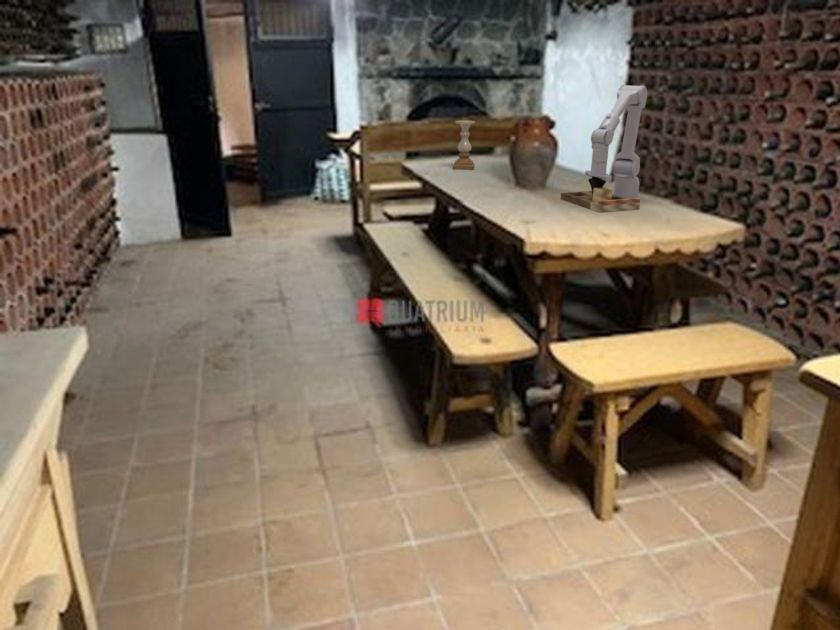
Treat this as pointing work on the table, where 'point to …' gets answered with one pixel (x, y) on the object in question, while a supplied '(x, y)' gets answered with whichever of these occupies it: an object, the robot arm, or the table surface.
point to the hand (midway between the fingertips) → (595, 197)
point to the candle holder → (464, 148)
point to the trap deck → (601, 202)
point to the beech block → (602, 194)
